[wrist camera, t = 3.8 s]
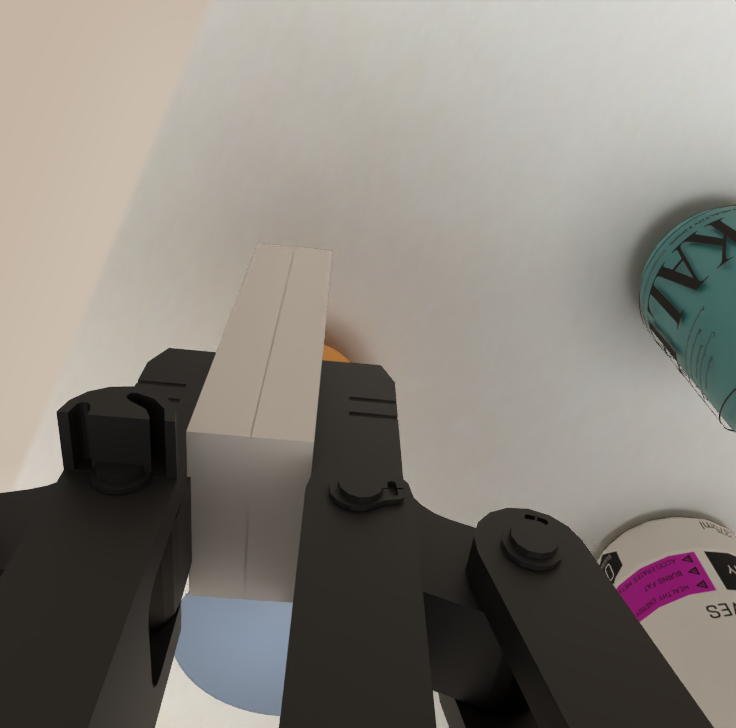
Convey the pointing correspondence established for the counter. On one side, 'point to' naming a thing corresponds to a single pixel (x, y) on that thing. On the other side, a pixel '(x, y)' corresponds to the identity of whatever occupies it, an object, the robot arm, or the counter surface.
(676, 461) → the counter surface
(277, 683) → the slate mark
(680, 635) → the supplement can
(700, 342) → the beverage bottle
